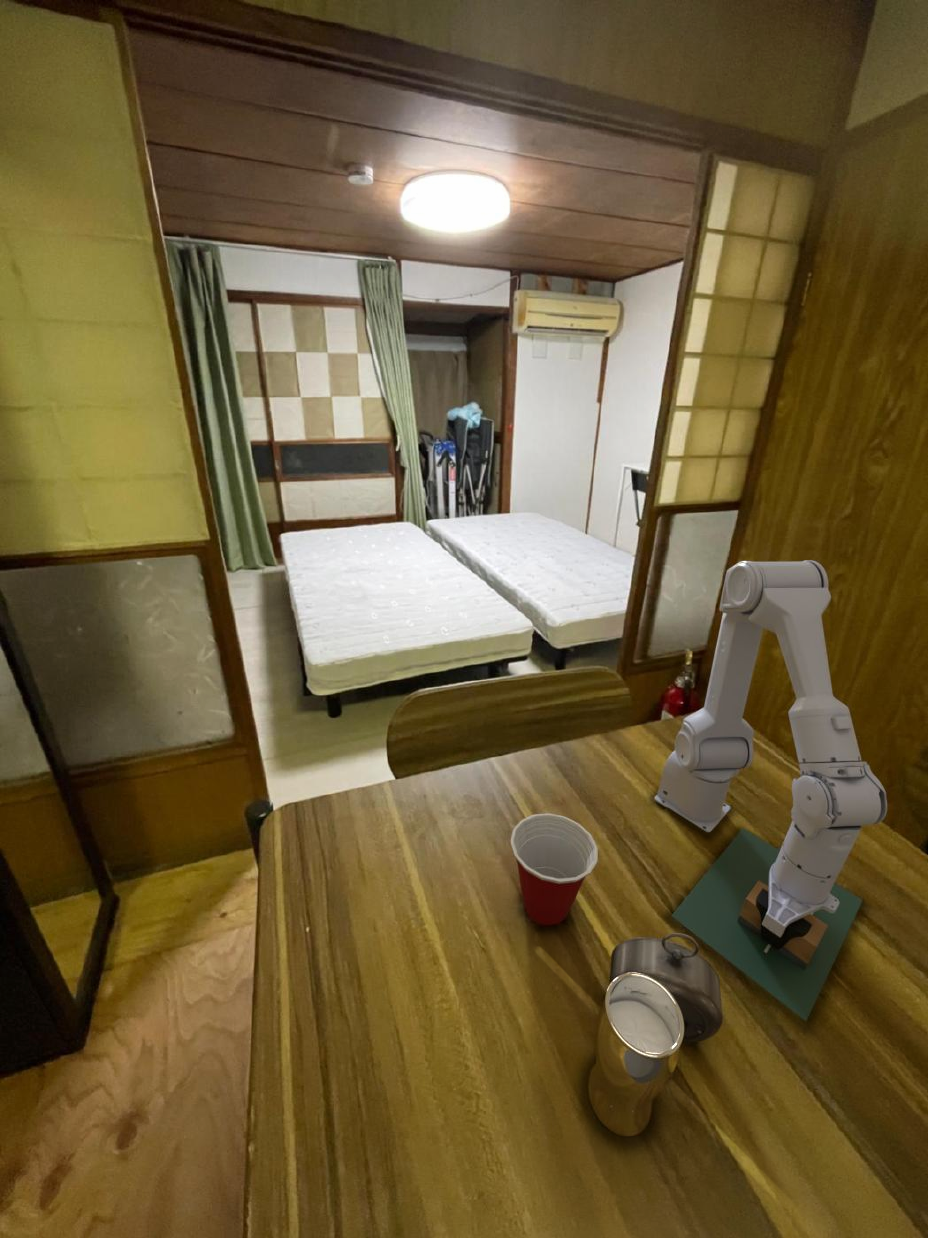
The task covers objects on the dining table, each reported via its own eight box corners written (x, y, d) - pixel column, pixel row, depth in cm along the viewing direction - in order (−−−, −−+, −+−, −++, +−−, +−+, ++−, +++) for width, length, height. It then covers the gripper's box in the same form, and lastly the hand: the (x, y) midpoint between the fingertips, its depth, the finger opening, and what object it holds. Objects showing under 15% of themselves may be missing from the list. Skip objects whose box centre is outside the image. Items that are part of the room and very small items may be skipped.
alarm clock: (704, 1019, 57) (741, 927, 50) (708, 1076, 52) (749, 984, 45) (603, 983, 60) (625, 892, 53) (599, 1034, 56) (621, 942, 48)
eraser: (737, 921, 67) (745, 898, 65) (749, 902, 69) (758, 880, 67) (804, 970, 61) (816, 947, 59) (816, 948, 64) (828, 925, 62)
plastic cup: (594, 888, 71) (606, 826, 66) (576, 960, 63) (587, 896, 57) (521, 859, 75) (526, 798, 70) (493, 923, 67) (497, 860, 61)
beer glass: (574, 1057, 54) (592, 972, 47) (639, 1051, 54) (665, 966, 48) (595, 1147, 48) (619, 1065, 41) (668, 1139, 48) (702, 1056, 41)
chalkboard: (670, 919, 67) (671, 916, 67) (741, 830, 81) (742, 828, 80) (804, 1024, 57) (806, 1021, 56) (861, 903, 70) (863, 900, 70)
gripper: (830, 922, 52) (790, 998, 58) (870, 844, 60) (832, 917, 66) (757, 874, 57) (727, 950, 63) (804, 809, 65) (774, 880, 71)
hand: (777, 930), depth 65 cm, fingers closed on eraser, 4 cm apart
